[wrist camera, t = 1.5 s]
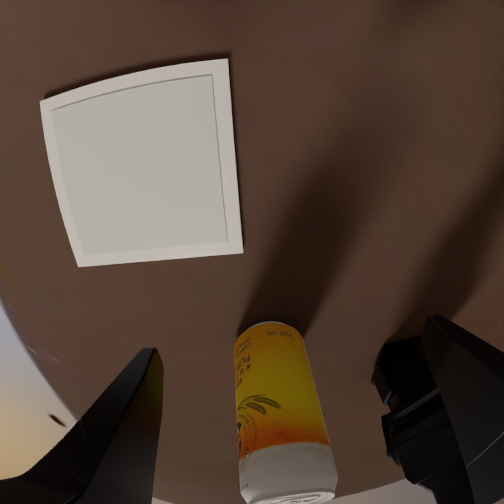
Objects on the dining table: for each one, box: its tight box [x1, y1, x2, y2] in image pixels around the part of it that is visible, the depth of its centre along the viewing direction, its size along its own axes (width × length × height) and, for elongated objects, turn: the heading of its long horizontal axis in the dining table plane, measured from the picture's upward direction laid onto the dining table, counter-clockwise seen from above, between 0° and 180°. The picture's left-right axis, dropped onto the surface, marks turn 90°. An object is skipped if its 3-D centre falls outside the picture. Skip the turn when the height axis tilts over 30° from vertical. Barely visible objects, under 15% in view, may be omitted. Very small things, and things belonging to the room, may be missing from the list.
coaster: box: [40, 59, 243, 267], centre depth 18 cm, size 13×13×1 cm
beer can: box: [234, 321, 338, 504], centre depth 20 cm, size 6×6×15 cm
